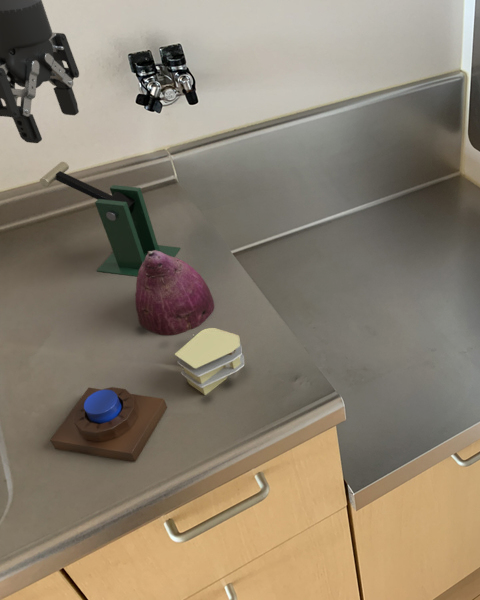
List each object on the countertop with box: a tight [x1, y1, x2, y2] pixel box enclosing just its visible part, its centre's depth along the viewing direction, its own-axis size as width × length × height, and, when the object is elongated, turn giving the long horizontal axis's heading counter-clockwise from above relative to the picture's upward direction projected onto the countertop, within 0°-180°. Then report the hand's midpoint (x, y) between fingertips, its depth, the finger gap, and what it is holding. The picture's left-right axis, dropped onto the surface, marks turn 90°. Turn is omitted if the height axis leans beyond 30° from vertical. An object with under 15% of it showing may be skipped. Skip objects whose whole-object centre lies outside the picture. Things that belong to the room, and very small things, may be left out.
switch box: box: [50, 386, 168, 463], centre depth 72 cm, size 10×8×4 cm
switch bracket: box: [94, 184, 182, 278], centre depth 93 cm, size 10×8×13 cm
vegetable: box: [134, 250, 215, 336], centre depth 83 cm, size 10×10×15 cm
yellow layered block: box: [174, 327, 245, 396], centre depth 78 cm, size 10×9×6 cm
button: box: [84, 390, 121, 423], centre depth 70 cm, size 4×4×2 cm
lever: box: [39, 161, 135, 214], centre depth 89 cm, size 12×5×2 cm, turn 80°
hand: (53, 127), depth 83 cm, fingers open, 8 cm apart
